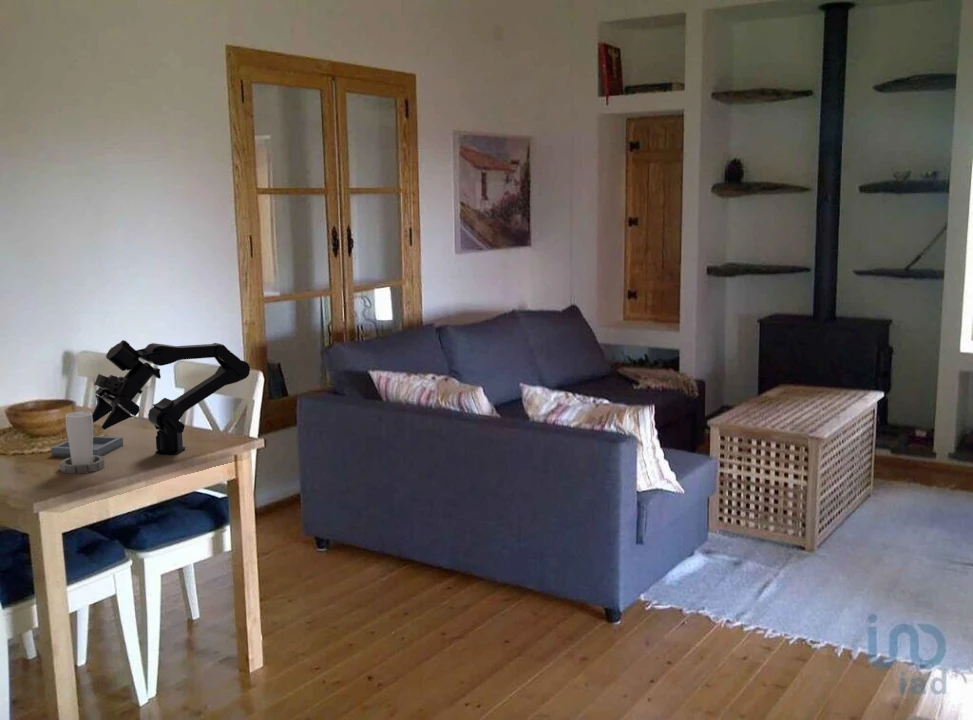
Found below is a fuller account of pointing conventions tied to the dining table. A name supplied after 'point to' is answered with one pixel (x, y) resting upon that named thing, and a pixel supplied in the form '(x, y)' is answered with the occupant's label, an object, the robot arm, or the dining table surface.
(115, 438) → the tray
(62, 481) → the dining table surface
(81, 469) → the holder ring
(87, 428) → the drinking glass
